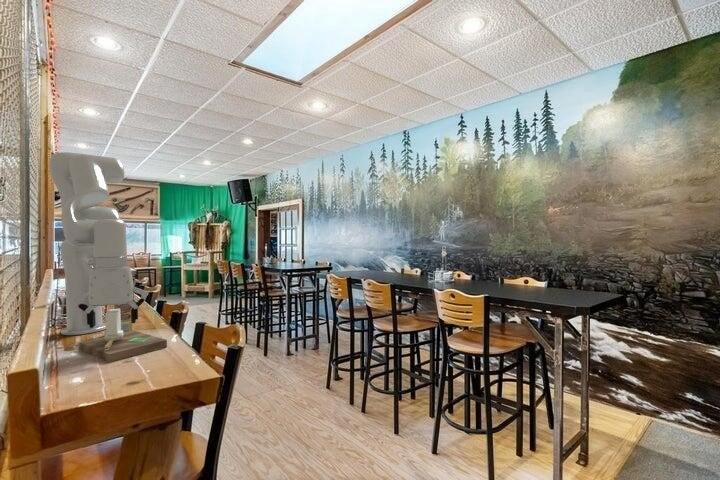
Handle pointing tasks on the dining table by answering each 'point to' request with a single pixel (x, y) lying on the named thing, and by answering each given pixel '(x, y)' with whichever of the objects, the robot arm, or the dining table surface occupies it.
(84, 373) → the dining table surface
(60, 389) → the dining table surface
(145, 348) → the dial board
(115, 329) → the white block on stick
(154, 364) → the dining table surface
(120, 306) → the candy box
